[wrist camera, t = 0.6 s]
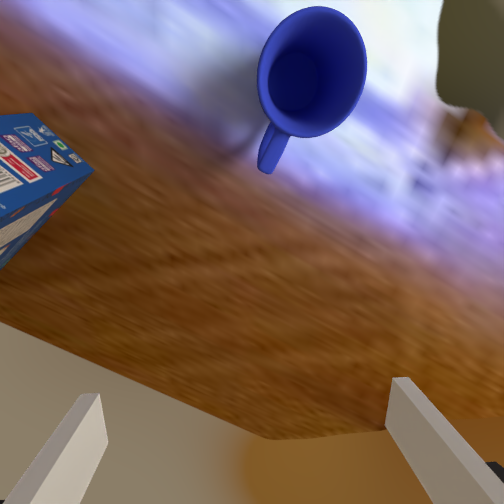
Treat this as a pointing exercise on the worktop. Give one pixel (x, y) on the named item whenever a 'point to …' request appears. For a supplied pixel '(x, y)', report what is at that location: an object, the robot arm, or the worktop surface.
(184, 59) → the worktop surface
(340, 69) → the mug
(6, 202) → the pasta box
